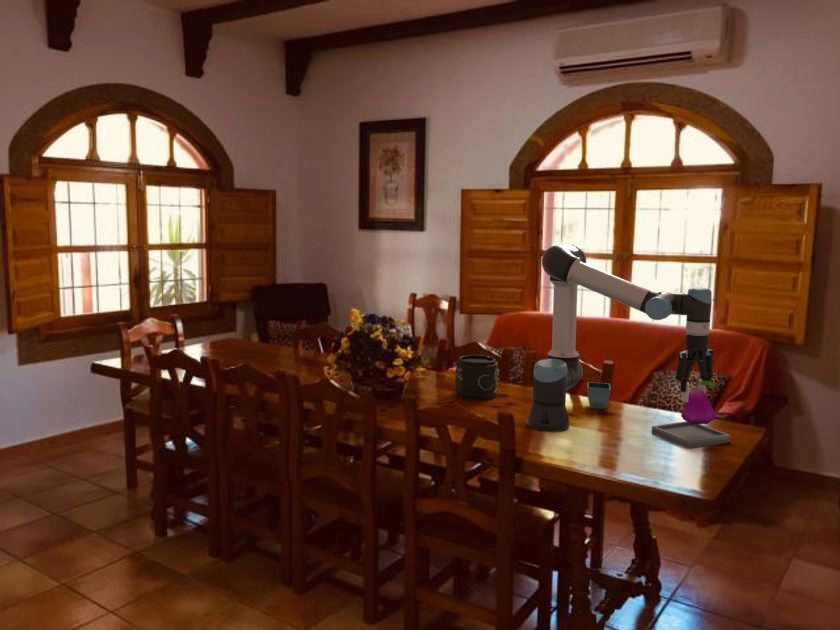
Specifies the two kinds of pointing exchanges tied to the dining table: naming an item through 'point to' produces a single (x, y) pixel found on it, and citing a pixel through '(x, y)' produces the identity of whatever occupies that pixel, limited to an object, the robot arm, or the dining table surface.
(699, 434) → the grey square tray
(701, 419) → the pear
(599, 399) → the flower pot
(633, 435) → the dining table surface
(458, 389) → the dark grey canister
